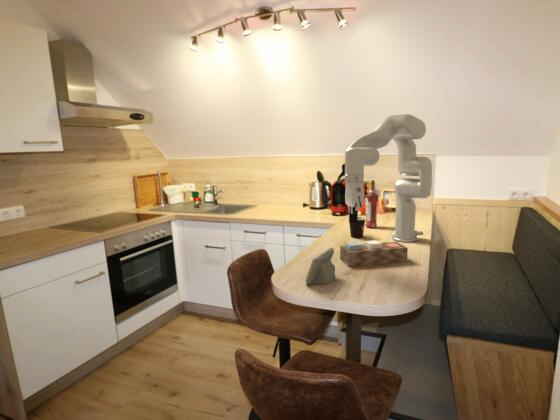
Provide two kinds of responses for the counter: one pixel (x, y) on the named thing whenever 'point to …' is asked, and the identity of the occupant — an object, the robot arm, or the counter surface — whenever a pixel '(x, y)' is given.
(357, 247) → the blue key
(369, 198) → the liquor
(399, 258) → the frame
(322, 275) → the grey rock
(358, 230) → the coffee mug
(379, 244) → the white key
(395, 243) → the pink block
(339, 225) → the counter surface
